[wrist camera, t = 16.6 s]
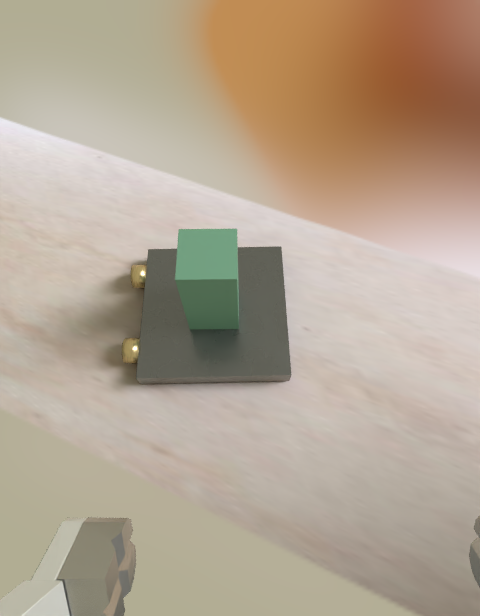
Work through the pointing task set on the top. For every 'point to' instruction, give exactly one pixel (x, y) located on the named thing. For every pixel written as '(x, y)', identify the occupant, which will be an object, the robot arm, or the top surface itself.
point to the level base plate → (211, 342)
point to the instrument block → (208, 277)
